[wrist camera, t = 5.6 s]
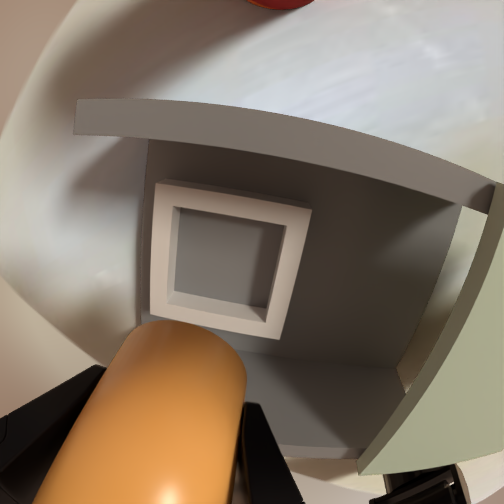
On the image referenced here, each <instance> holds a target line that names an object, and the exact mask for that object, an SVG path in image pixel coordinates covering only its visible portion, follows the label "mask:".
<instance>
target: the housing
mask: <svg viewBox="0 0 504 504" xmlns="http://www.w3.org/2000/svg"><path fill="white" fill-rule="evenodd" d="M73 135H99V136H118V137H133V138H145V139H149V146H148V155H147V165H146V175H145V187H144V200H143V216H142V237H141V325H142V324H145V323H148V322H152V321H157V320H176V321H182V322H186V323H190V324H194V325H197V326H199V327H202V328H204V329H206V330H208V331H210V332H212V333H214V334H216V335H217V336H219V337H220V338H222V339H223V340H224V341H226V342H227V343H228V344H229V345H230V346H231V347H232V348H233V349H234V350H235V351H236V352H237V354H238V355H239V356H240V358H241V360H242V361H243V364H244V366H245V369H246V373H247V386H246V394H245V402H246V401H250V402H256V403H259V404H260V405H261V407H262V409H263V412H264V414H265V416H266V419H267V421H268V423H269V426H270V428H271V430H272V433H273V435H274V437H275V439H276V442H277V444H278V446H279V448H280V451H281V453H282V455H283V456H286V457H300V458H322V459H359V458H360V456H361V455H362V454H363V453H364V452H365V450H366V449H367V448H368V447H369V445H370V444H371V443H372V441H373V440H374V439H375V438H376V436H377V435H378V434H379V432H380V431H381V430H382V428H383V427H384V425H385V424H386V423H387V421H388V420H389V419H390V417H391V416H392V414H393V413H394V411H395V410H396V408H397V407H398V406H399V404H400V403H401V401H402V400H403V398H404V397H405V395H406V393H405V390H404V388H403V385H402V383H401V380H400V378H399V376H398V373H397V371H396V367H397V365H398V363H399V361H400V359H401V358H402V356H403V354H404V352H405V350H406V348H407V346H408V344H409V342H410V340H411V338H412V336H413V334H414V332H415V330H416V328H417V326H418V323H419V321H420V319H421V317H422V315H423V313H424V310H425V308H426V306H427V304H428V301H429V299H430V297H431V294H432V292H433V289H434V287H435V284H436V282H437V279H438V277H439V274H440V272H441V269H442V266H443V264H444V261H445V258H446V255H447V252H448V250H449V247H450V244H451V241H452V238H453V235H454V231H455V228H456V225H457V222H458V218H459V215H460V212H461V208H462V205H463V206H465V207H468V208H471V209H474V210H476V211H479V212H482V213H485V214H487V215H488V213H489V210H490V206H491V203H492V199H493V195H494V191H495V187H496V183H497V182H495V181H493V180H491V179H489V178H486V177H484V176H482V175H480V174H477V173H475V172H473V171H470V170H468V169H466V168H463V167H461V166H458V165H456V164H454V163H451V162H448V161H446V160H443V159H441V158H438V157H435V156H433V155H430V154H427V153H424V152H422V151H419V150H416V149H413V148H410V147H407V146H404V145H401V144H398V143H395V142H392V141H388V140H385V139H382V138H379V137H375V136H372V135H368V134H365V133H361V132H357V131H354V130H350V129H346V128H342V127H338V126H334V125H330V124H326V123H321V122H317V121H313V120H308V119H303V118H298V117H293V116H288V115H283V114H278V113H272V112H266V111H260V110H254V109H247V108H240V107H233V106H225V105H217V104H208V103H198V102H186V101H173V100H156V99H122V98H105V99H77V105H76V113H75V122H74V132H73ZM245 402H244V403H245Z"/></svg>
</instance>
